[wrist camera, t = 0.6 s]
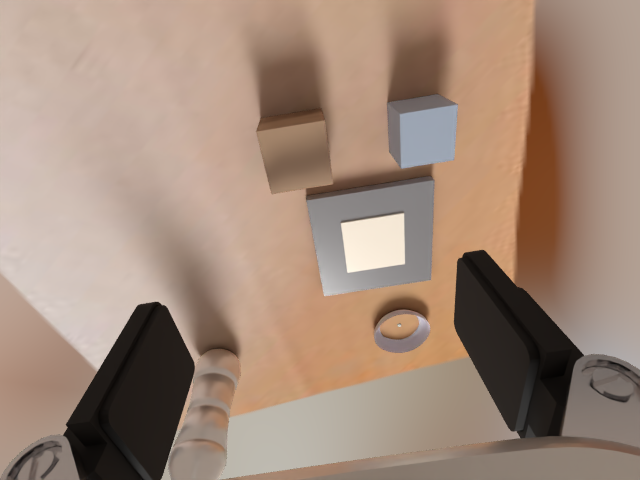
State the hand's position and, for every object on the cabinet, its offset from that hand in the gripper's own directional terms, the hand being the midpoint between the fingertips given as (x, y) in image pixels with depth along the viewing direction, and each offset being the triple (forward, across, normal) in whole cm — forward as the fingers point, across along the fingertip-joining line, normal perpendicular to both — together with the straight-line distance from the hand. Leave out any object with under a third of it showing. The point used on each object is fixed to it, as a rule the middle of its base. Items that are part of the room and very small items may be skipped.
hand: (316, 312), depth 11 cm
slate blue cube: (+28, -11, +2) cm, 30 cm away
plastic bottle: (+29, +18, +31) cm, 46 cm away
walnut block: (+28, +1, +2) cm, 28 cm away
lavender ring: (+29, -9, +30) cm, 43 cm away
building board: (+28, -6, +14) cm, 32 cm away
